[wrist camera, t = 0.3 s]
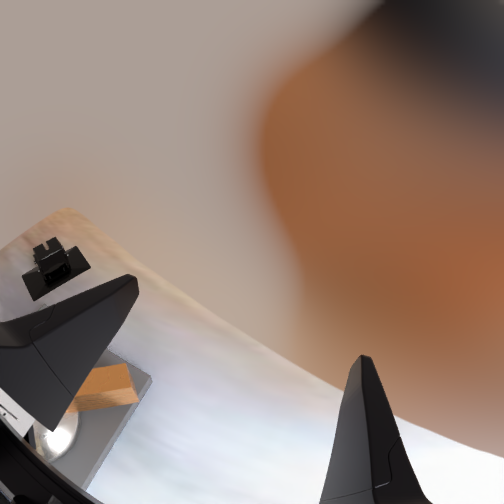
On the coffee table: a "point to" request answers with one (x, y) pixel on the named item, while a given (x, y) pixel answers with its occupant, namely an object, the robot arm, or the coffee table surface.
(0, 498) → the handheld game console
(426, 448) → the coffee table surface
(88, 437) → the base plate
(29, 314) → the robot arm
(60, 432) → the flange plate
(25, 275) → the black angular piece
